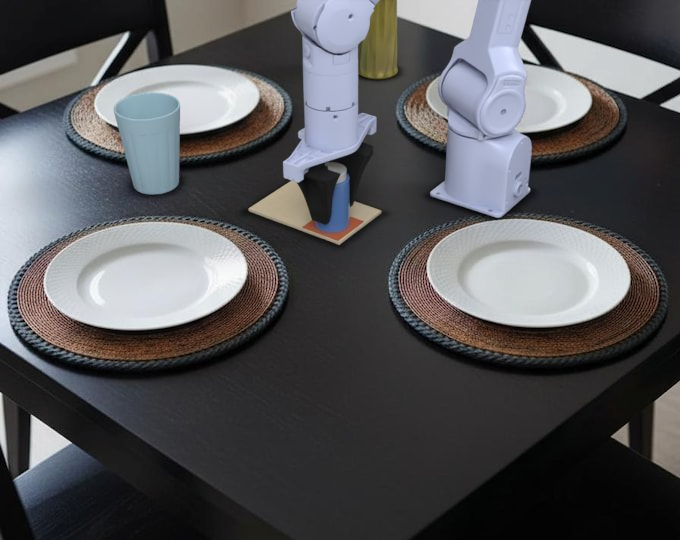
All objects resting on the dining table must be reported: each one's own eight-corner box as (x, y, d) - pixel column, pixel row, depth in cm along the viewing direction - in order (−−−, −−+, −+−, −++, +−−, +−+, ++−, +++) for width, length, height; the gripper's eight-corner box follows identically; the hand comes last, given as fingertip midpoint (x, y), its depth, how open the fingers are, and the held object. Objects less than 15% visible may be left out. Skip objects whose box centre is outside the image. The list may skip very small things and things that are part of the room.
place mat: (381, 213, 121) (381, 209, 121) (339, 245, 115) (339, 241, 115) (292, 182, 127) (292, 179, 127) (248, 211, 122) (248, 207, 121)
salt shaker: (356, 221, 119) (356, 166, 115) (336, 236, 116) (335, 181, 112) (328, 211, 120) (327, 157, 117) (307, 226, 118) (305, 171, 114)
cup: (110, 188, 127) (99, 109, 121) (153, 163, 132) (144, 86, 126) (157, 205, 123) (148, 125, 117) (200, 179, 128) (193, 101, 123)
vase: (357, 80, 153) (357, -16, 145) (356, 64, 158) (356, -30, 150) (399, 79, 153) (401, -17, 145) (396, 63, 158) (399, -30, 150)
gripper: (340, 69, 117) (341, 177, 124) (257, 115, 107) (264, 229, 114) (393, 84, 113) (390, 193, 121) (313, 132, 103) (315, 248, 111)
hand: (332, 212), depth 117 cm, fingers closed on salt shaker, 4 cm apart
